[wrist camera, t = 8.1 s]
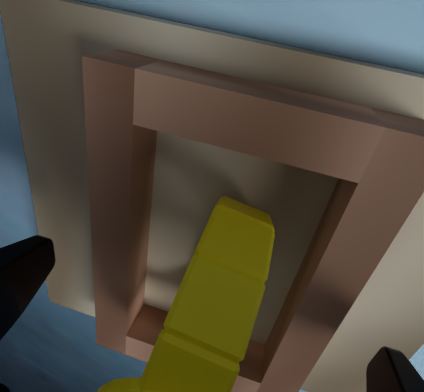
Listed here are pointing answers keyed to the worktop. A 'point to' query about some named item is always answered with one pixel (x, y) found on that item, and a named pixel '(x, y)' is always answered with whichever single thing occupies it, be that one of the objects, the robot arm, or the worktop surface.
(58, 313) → the worktop surface
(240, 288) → the watch
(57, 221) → the wooden framed tray
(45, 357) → the worktop surface
